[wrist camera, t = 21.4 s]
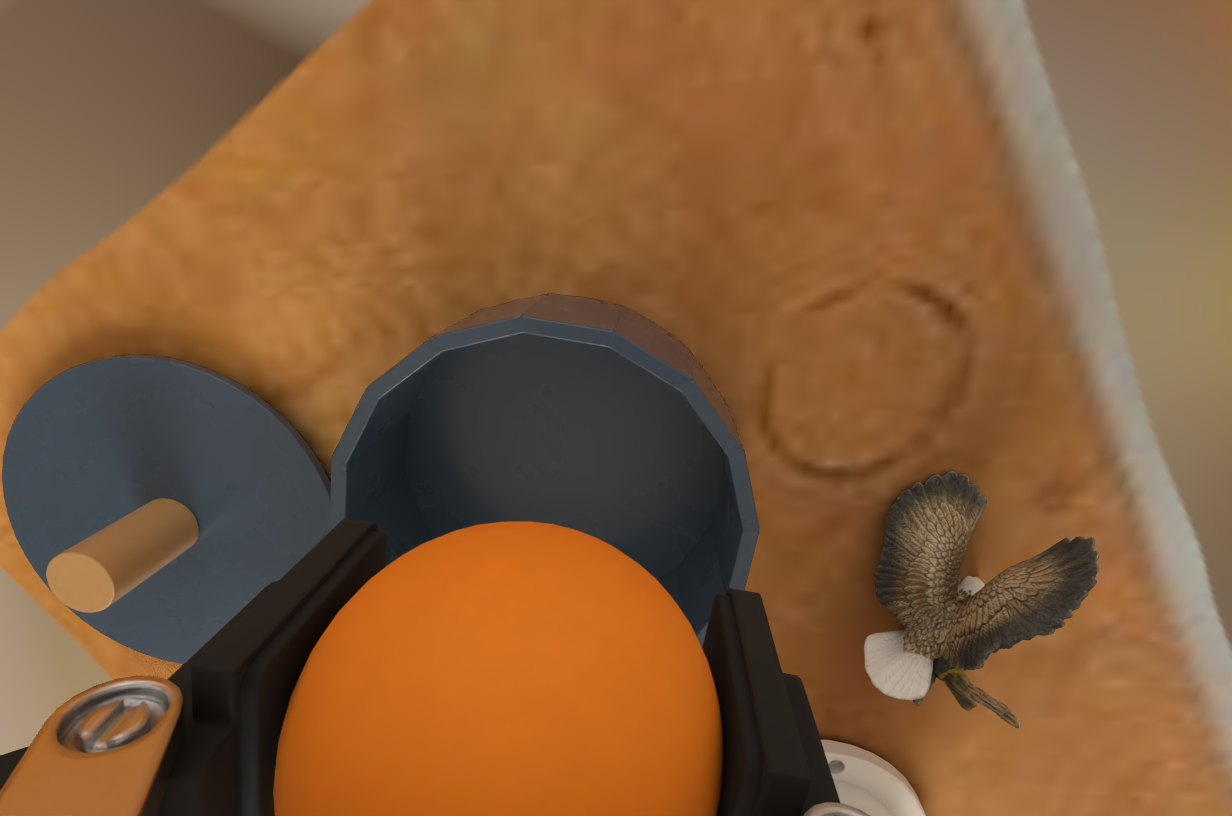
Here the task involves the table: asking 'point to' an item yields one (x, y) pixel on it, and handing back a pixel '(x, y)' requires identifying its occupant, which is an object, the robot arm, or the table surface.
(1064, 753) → the table surface
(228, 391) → the pan lid
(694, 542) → the dark blue round container
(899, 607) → the eagle figurine
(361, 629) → the orange ball
